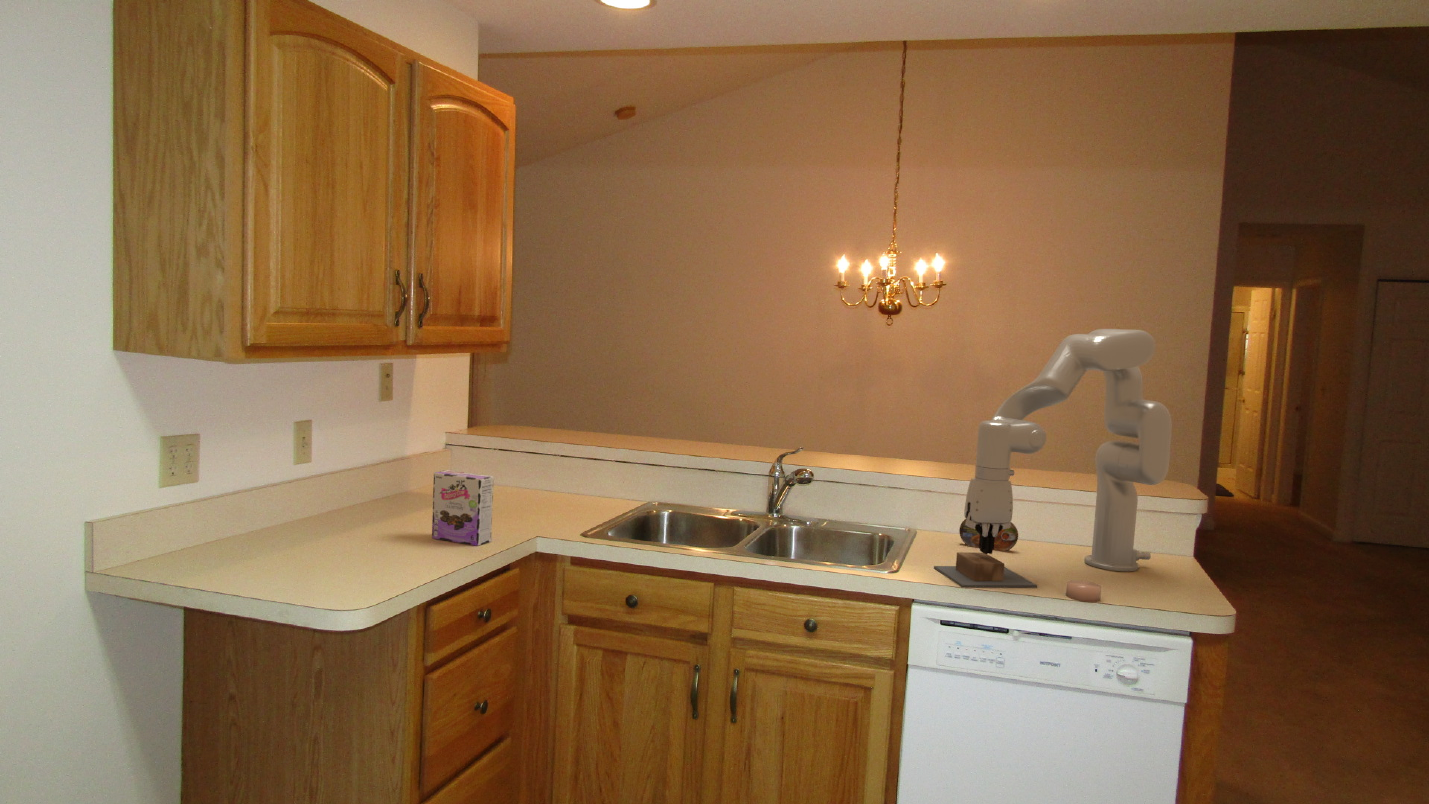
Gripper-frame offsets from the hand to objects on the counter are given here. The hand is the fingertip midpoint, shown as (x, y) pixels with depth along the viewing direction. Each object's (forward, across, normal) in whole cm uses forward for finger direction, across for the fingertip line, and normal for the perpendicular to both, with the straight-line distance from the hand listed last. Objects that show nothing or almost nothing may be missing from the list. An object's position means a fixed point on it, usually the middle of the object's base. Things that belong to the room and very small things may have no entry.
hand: (985, 552), depth 215 cm
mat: (+6, 0, 0) cm, 6 cm away
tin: (+6, -15, -29) cm, 33 cm away
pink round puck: (+6, -16, +15) cm, 23 cm away
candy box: (+6, +121, -31) cm, 125 cm away
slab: (+3, -2, 0) cm, 4 cm away
